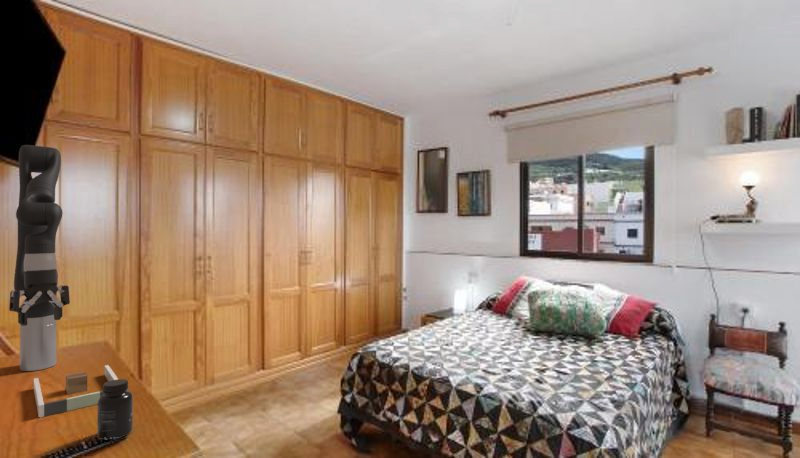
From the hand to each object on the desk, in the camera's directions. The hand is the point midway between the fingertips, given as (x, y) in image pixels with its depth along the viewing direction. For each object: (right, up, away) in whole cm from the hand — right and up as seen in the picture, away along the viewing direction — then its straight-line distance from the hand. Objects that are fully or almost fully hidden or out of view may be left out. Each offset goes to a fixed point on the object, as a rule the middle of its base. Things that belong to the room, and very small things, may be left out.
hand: (41, 322), depth 127 cm
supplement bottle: (+42, -20, -29) cm, 55 cm away
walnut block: (+15, -19, -5) cm, 24 cm away
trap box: (+17, -19, -7) cm, 26 cm away
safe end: (+24, -19, -16) cm, 35 cm away
